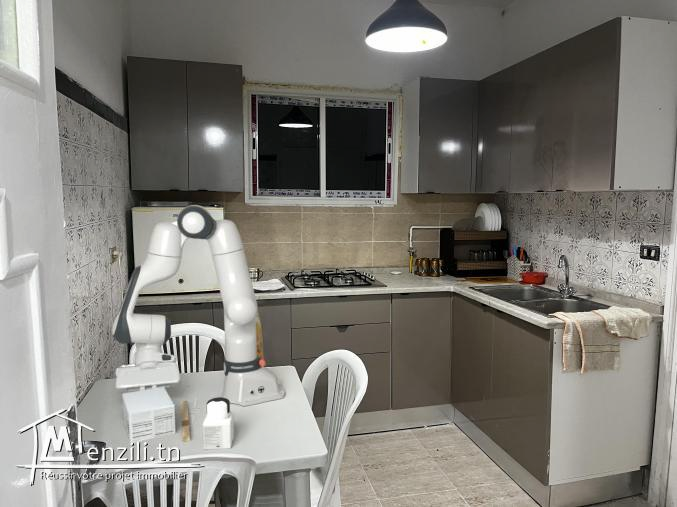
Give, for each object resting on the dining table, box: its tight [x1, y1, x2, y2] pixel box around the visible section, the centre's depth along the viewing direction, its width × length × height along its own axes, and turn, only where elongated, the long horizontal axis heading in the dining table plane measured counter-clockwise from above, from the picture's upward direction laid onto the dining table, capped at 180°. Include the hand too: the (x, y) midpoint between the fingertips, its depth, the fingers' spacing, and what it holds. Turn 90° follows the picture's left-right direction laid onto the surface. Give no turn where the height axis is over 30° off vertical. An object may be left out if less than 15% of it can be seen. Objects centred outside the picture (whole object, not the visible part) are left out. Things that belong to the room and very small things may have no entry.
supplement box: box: [121, 387, 176, 444], centre depth 155 cm, size 17×13×9 cm
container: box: [202, 396, 235, 450], centre depth 145 cm, size 8×8×13 cm
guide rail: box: [180, 400, 191, 443], centre depth 159 cm, size 2×26×2 cm, turn 18°
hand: (148, 400), depth 164 cm, fingers closed
